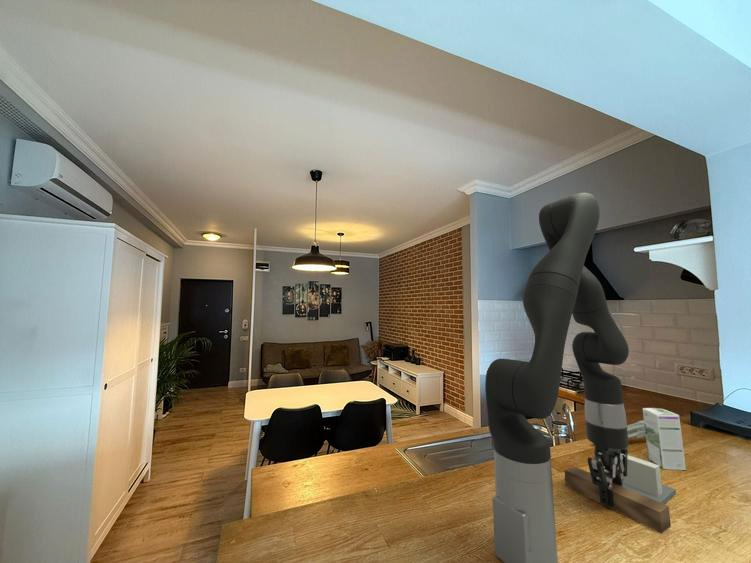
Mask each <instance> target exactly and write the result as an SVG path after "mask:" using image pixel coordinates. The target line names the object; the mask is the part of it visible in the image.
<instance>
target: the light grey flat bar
mask: <svg viewBox="0 0 751 563" xmlns="http://www.w3.org/2000/svg"><path fill="white" fill-rule="evenodd" d="M627 432H628V440H629V439H632V438H635V439H640V438H643V437H644V438H645V439H646V435H645V426H644V419H643V420H638V421H637V422H634V423H630V424H627Z"/></svg>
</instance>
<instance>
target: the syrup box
mask: <svg viewBox="0 0 751 563" xmlns="http://www.w3.org/2000/svg"><path fill="white" fill-rule="evenodd" d="M642 415H643V416H642V417H643V420H644V426H645V435H646V438H645V441H646V451H647V459H648V460H649V462H651V463H653V464H656V465H660V469H663V470H668V471H670V470H671V471H682V470H686V471H687V466H686V465H687V464H686V460H685V452H684V444H683V443H684V442H683V436H682V434H683V433H682V428H681V427H682V426H681V421H680V418H681V417H680V415H679V414H677V413H675V412H673V411H669V410H667V409H664V408H661V407H660V408H659V407H658V408H657V407H642Z"/></svg>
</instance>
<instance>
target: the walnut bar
mask: <svg viewBox="0 0 751 563" xmlns="http://www.w3.org/2000/svg"><path fill="white" fill-rule="evenodd" d="M563 473H564V485H565V487H567V488H568V489H571V490H573V491H574V492H577V493H579V494H582V495H583V496H586V497H587V498H590V499H592V500H594V501H596V502H598V503H599V504H602V503H601V502H600V493H599V486H597V485H595V484H593V482H592V478H591V474H590V471H587V470H584V469H581V468H579V467H577V466H575V465H572V466H571V467H567V468H565V469H564V472H563ZM612 493H613V507H611V508H610V509H612V510H614V511H615V512H618V513H620V514H622V515H624V516H626V517H628V518H630V519H632V520H634V521H637V522H639V523H640V524H642V525H644V526H647V527H648V528H651V529H652V530H655V531H656V532H659V533H661V534H663V533H664V532H666V531H667V530H669V529H670V527H672V525H671V524H672V523H671V515H670V513H671V512H670V506H669V505H667V504H666V503H665V504H663V503H660V502H658V501H655V500H653V499H651V498H648V497H646V496H644V495H641V494H639V493H637V492H634V491H632V490H629V489H627V488H625V487H622V486H620V485H618V484H615V483H613V482H612Z"/></svg>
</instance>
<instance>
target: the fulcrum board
mask: <svg viewBox="0 0 751 563" xmlns="http://www.w3.org/2000/svg"><path fill="white" fill-rule="evenodd" d="M605 472H608V470H605ZM661 477H662V476H661V467H660V465H656V464H655V463H653V462H651V461H647V460H645V459H642V458H641V459H640V458H637V457H635V456H631V455H628V457H627V476H626V477H625V476H624V481H623V482H622V485H623V487H625V488H627V489H629V490H632V491H634V492H637V493H639V494H641V495H644V496H646V497H648V498H651V499H653V500H655V501H658V502H660V503H663V504H665V505H666V504H667V503H668V502H669V501H670V500H671V499H672V498H673V497H674V496H675V494H676V495H677V490H676V489H675V488H673V487H670V486H668V485H665V484H663V483H662V478H661ZM606 479H607V476H606Z"/></svg>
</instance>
